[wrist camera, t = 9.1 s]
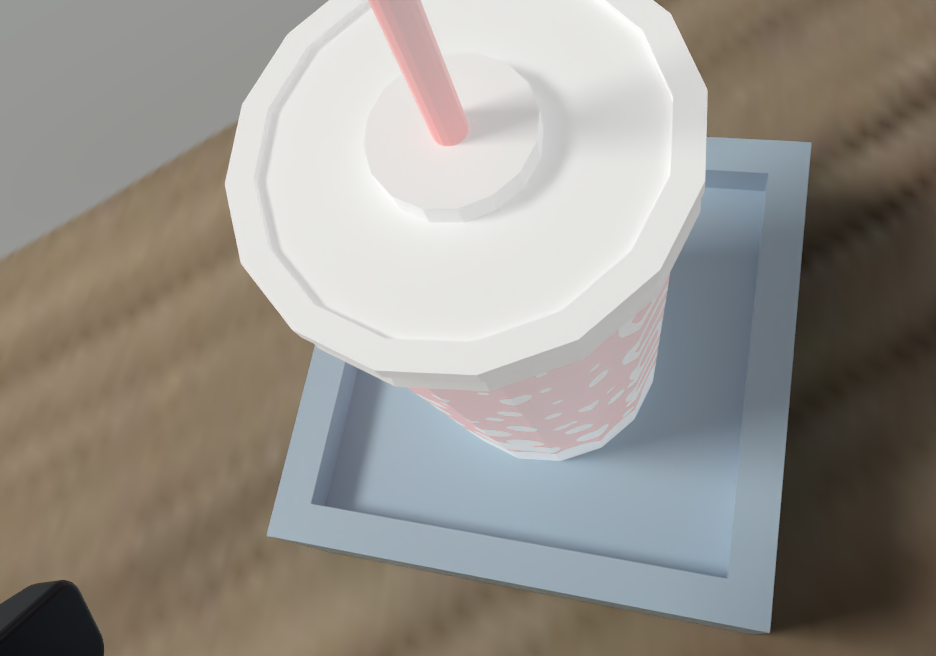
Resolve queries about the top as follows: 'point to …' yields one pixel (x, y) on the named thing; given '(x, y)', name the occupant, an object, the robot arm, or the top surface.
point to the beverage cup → (478, 202)
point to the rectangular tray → (605, 469)
